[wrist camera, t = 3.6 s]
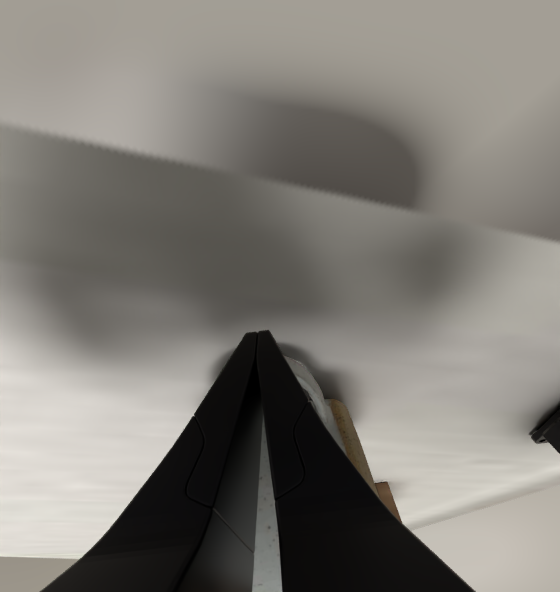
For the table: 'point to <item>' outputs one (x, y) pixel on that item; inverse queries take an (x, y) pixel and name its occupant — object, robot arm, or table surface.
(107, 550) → the robot arm
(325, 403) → the ceramic mug
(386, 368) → the table surface
